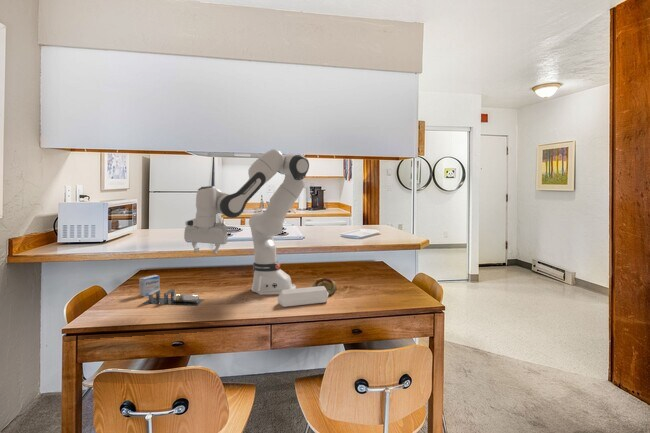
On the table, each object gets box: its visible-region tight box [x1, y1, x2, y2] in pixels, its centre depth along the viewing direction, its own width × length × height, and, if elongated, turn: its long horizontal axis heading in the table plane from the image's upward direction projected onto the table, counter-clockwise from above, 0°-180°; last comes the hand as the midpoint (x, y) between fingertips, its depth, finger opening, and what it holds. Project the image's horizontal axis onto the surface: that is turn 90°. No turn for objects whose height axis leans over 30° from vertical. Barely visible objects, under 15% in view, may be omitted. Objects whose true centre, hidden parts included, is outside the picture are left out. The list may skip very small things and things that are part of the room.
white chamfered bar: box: [277, 286, 329, 308], centre depth 162 cm, size 7×7×24 cm
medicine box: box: [138, 274, 161, 297], centre depth 172 cm, size 8×4×9 cm, turn 148°
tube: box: [172, 293, 200, 303], centre depth 161 cm, size 11×3×3 cm, turn 86°
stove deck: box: [141, 287, 205, 307], centre depth 161 cm, size 25×9×5 cm, turn 86°
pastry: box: [311, 277, 338, 296], centre depth 179 cm, size 14×12×8 cm
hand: (205, 252), depth 162 cm, fingers open, 8 cm apart
